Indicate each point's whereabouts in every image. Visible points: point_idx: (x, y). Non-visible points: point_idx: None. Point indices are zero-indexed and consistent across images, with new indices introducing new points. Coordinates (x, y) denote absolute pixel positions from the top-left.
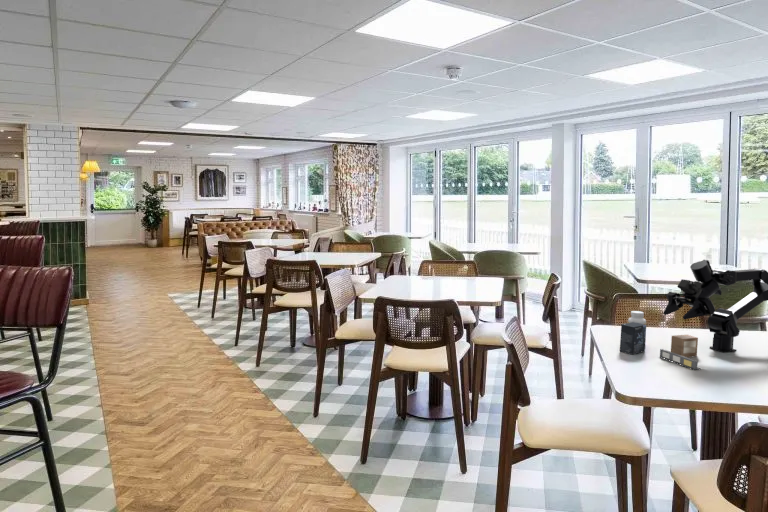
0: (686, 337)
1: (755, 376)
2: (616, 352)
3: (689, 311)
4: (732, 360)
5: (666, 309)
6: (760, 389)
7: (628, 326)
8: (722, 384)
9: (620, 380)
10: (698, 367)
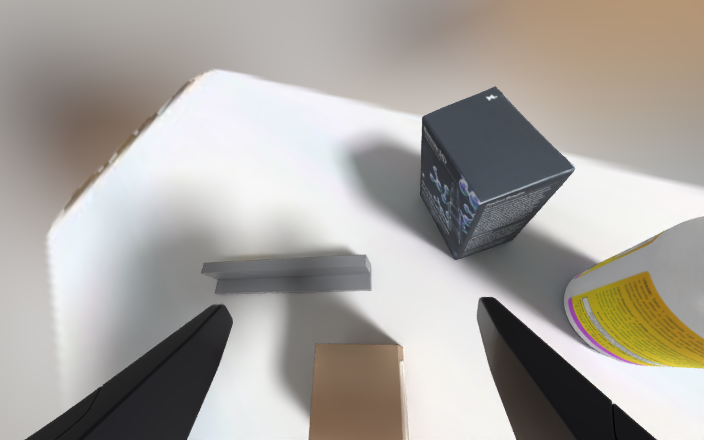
0: (335, 409)
1: None
2: None
3: (128, 373)
4: None
5: (513, 339)
6: (57, 315)
7: (454, 105)
8: (129, 252)
9: (256, 86)
10: (221, 292)
